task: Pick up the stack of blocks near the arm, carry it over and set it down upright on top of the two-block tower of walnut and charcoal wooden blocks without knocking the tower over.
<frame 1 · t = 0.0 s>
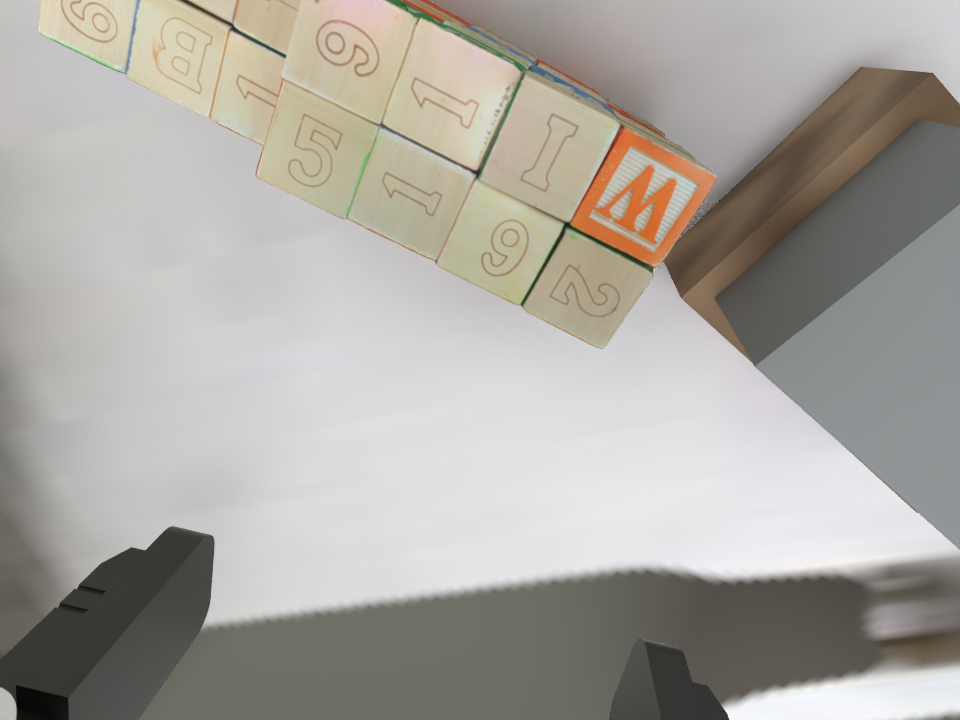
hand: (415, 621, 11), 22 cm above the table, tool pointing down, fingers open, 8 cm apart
tower base block: (859, 278, 30), on the table, touching tower top block
stack of blocks: (421, 79, 28), on the table
tower top block: (921, 329, 25), point 6 cm above the table, touching tower base block
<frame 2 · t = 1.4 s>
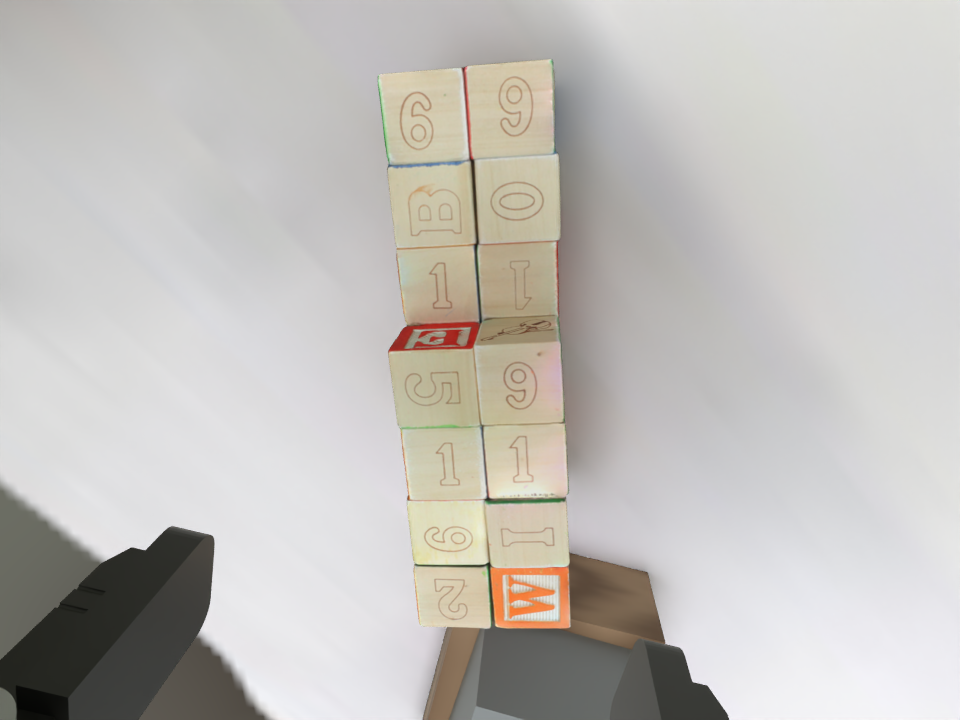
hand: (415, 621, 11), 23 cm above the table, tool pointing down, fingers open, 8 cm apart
tower base block: (527, 644, 41), on the table
stack of blocks: (498, 302, 33), on the table
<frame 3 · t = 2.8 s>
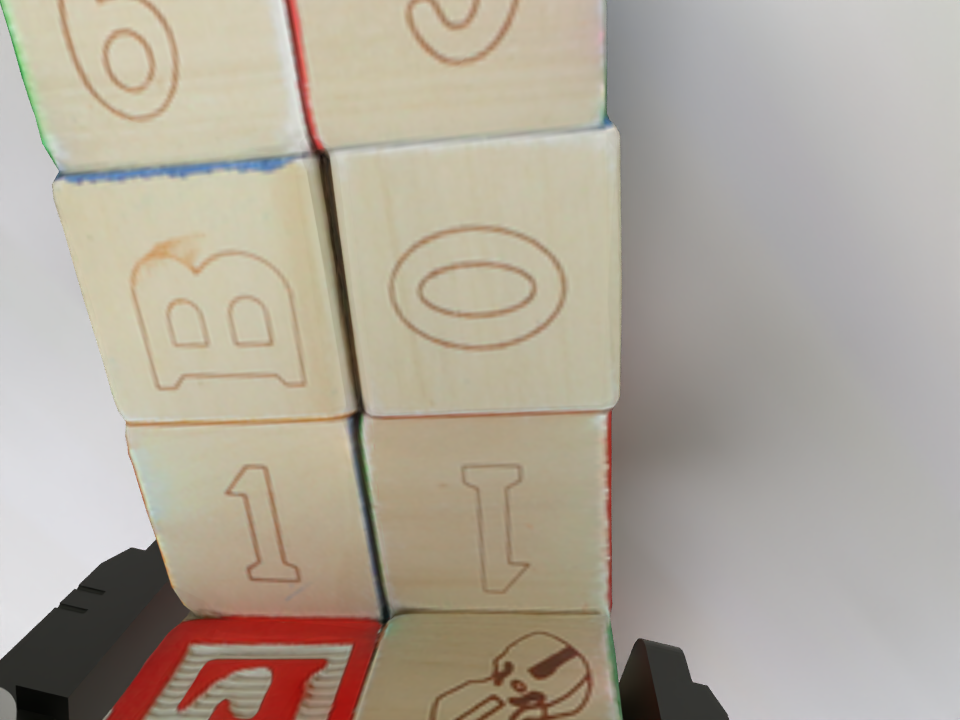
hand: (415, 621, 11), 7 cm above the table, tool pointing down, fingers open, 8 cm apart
stack of blocks: (475, 424, 18), on the table
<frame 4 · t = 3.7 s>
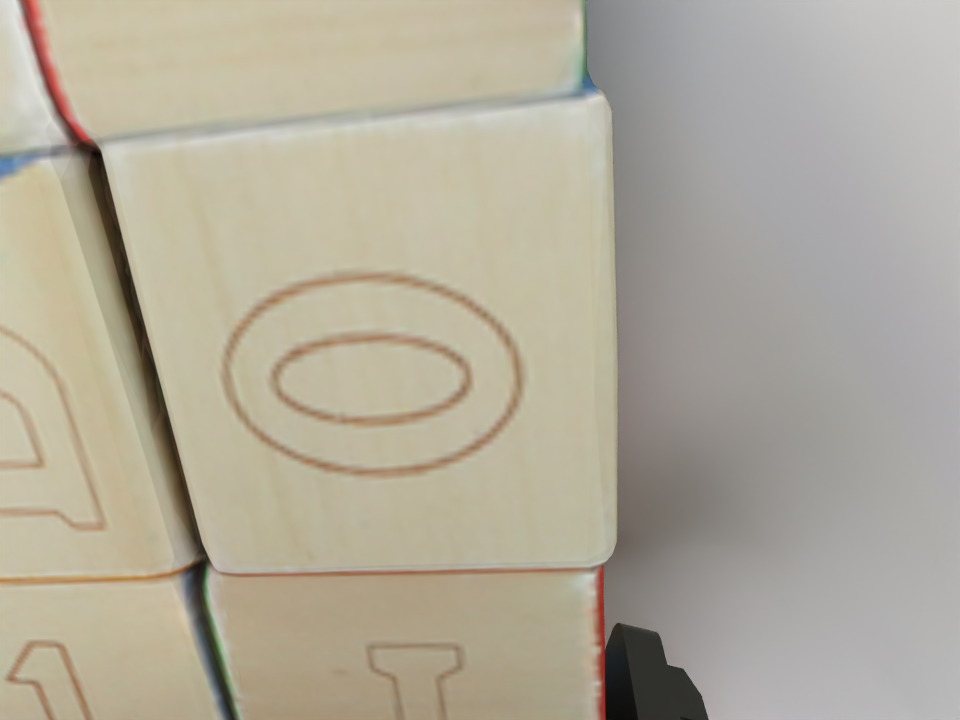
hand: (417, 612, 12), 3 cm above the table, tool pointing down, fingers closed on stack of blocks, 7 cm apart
stack of blocks: (443, 473, 15), on the table, touching gripper
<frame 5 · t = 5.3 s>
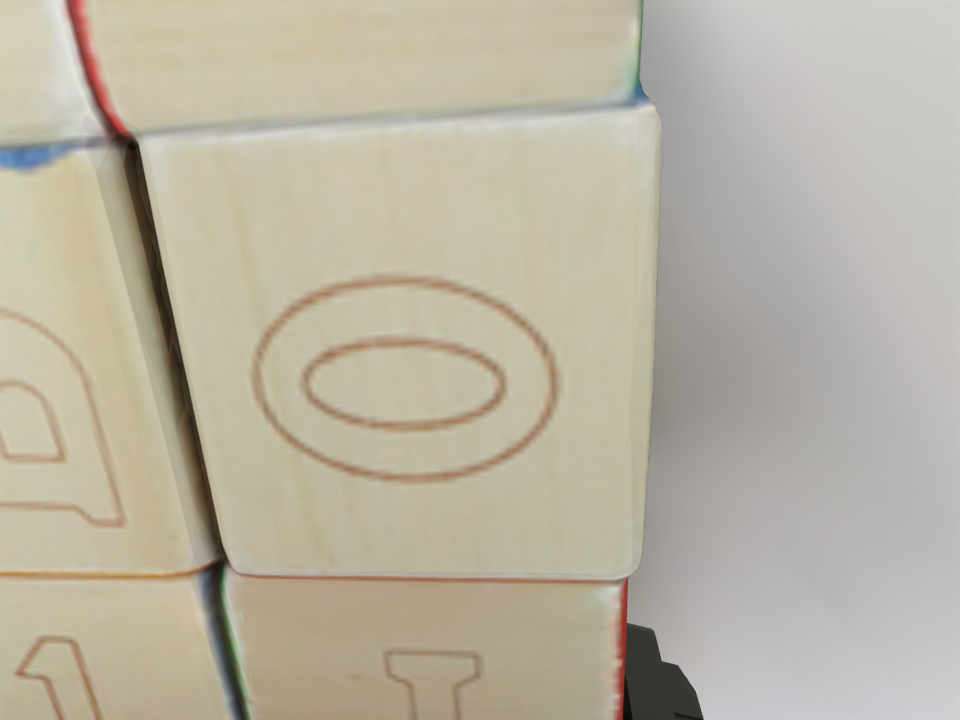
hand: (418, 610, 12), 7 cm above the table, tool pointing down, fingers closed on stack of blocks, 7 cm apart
stack of blocks: (445, 473, 15), point 4 cm above the table, touching gripper
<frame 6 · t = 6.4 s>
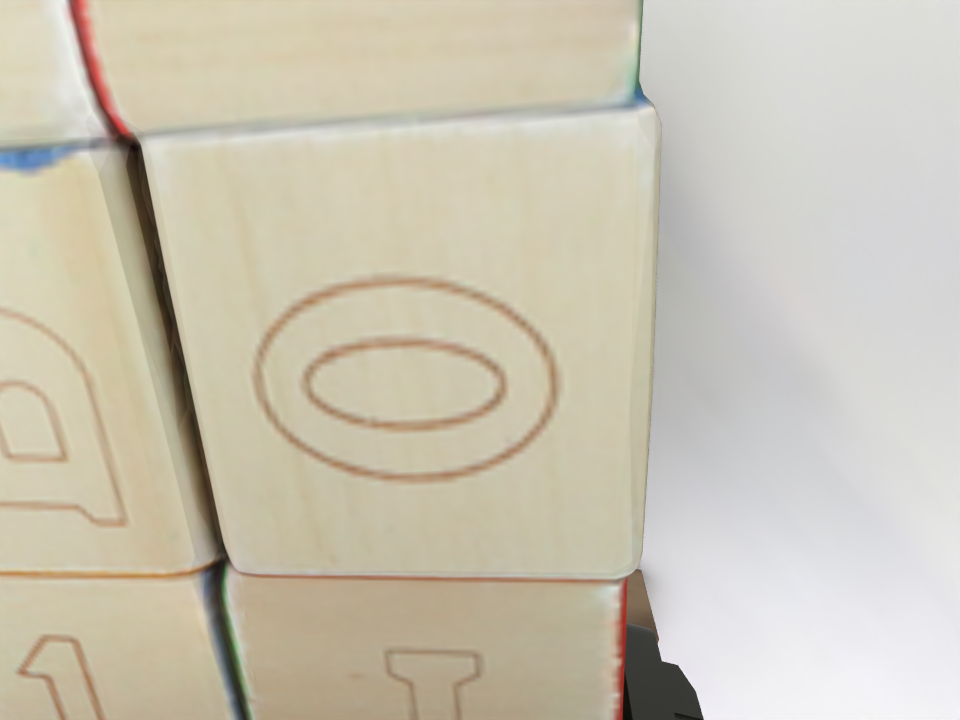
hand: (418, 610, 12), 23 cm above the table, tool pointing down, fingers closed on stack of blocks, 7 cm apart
tower base block: (521, 641, 41), on the table, touching tower top block
stack of blocks: (446, 473, 15), point 19 cm above the table, touching gripper
when the fingers open (17 cm above the table, at t = 11.7 s): stack of blocks drops 2 cm, resting on tower top block.
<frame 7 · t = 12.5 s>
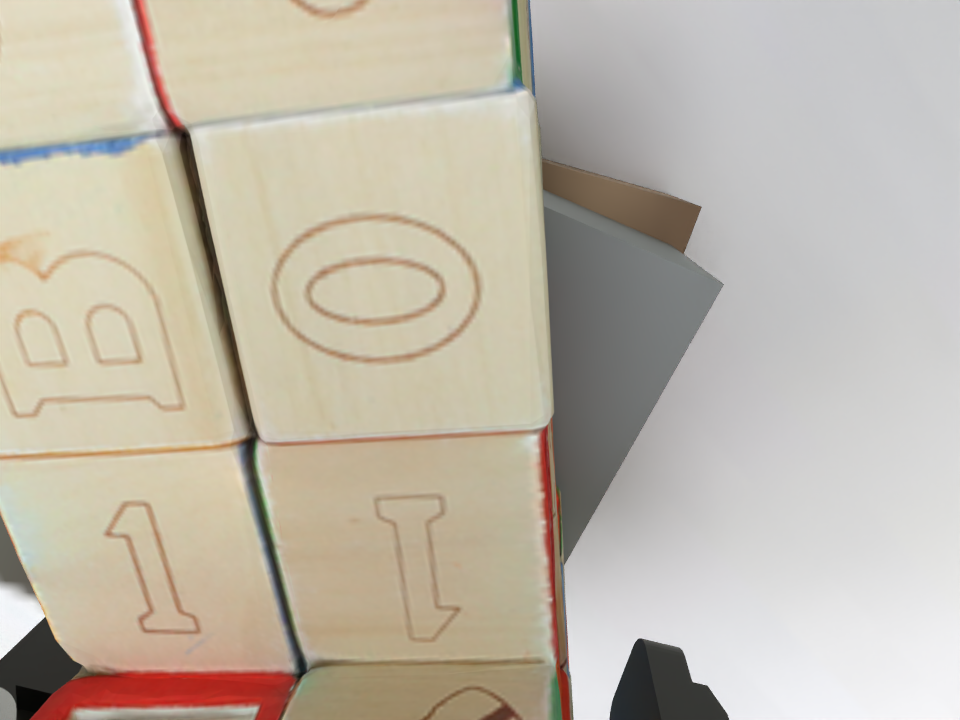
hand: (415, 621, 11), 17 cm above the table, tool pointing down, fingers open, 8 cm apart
tower base block: (485, 335, 28), on the table, touching tower top block
stack of blocks: (440, 434, 17), point 11 cm above the table, touching gripper, tower top block
tower top block: (464, 375, 22), point 6 cm above the table, touching stack of blocks, tower base block
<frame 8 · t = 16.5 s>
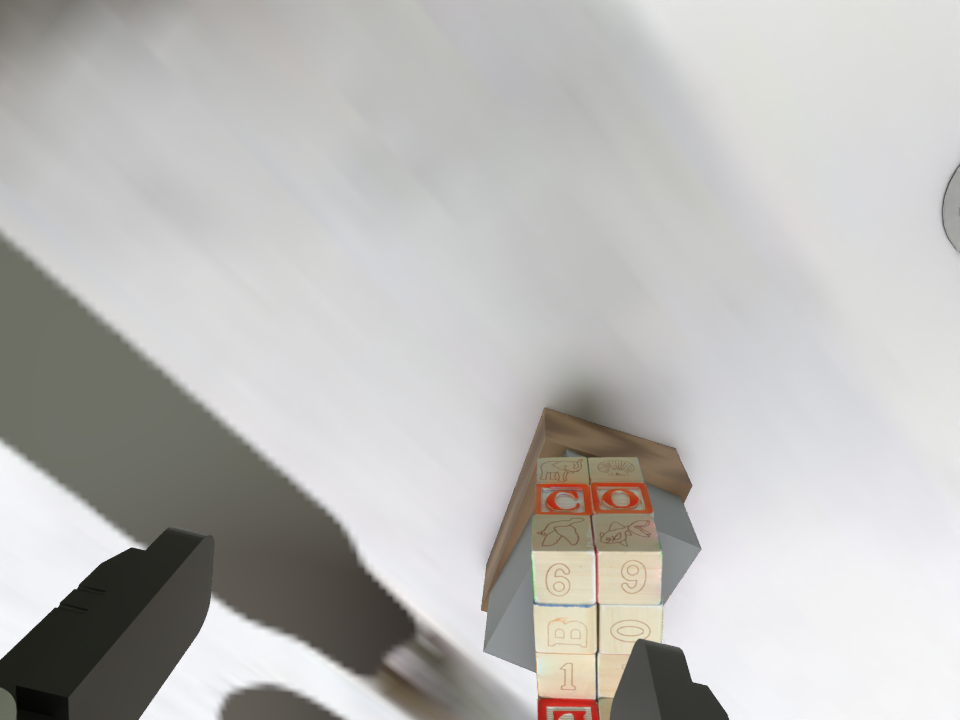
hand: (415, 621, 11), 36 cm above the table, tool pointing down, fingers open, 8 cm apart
tower base block: (575, 507, 52), on the table, touching tower top block
stack of blocks: (586, 596, 41), point 11 cm above the table, touching tower top block
tower top block: (580, 547, 46), point 6 cm above the table, touching stack of blocks, tower base block
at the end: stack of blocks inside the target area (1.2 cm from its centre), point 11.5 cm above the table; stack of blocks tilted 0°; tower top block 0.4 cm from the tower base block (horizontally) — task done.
